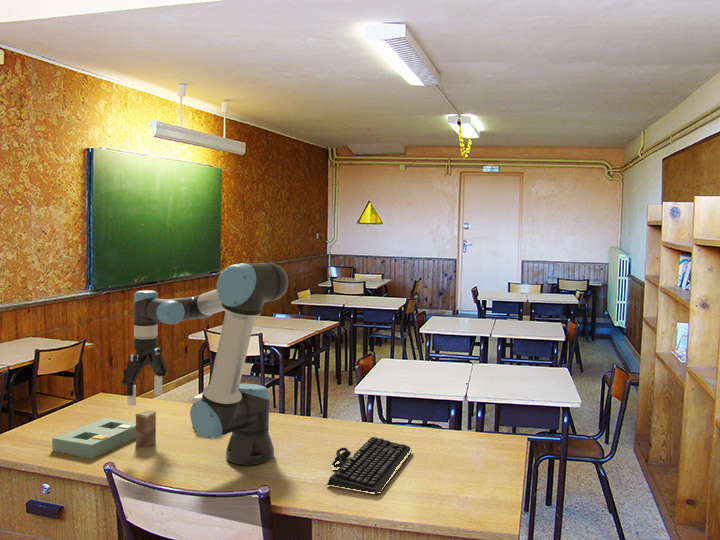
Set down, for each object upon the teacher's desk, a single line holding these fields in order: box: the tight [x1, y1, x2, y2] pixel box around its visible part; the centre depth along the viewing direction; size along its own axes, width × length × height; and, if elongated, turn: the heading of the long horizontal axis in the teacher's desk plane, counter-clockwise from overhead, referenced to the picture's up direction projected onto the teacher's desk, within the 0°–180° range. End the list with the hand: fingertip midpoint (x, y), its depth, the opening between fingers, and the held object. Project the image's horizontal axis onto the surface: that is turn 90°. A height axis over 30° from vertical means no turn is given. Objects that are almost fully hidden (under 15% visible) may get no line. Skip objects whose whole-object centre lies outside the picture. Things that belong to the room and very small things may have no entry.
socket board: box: [51, 417, 136, 460], centre depth 212 cm, size 16×24×5 cm, turn 161°
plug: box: [135, 409, 157, 448], centre depth 211 cm, size 5×5×11 cm
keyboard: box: [326, 436, 411, 493], centre depth 196 cm, size 37×22×5 cm, turn 160°
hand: (145, 399), depth 211 cm, fingers open, 13 cm apart
